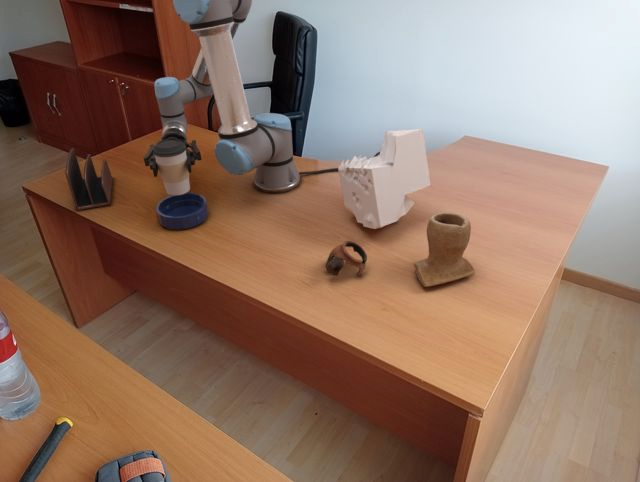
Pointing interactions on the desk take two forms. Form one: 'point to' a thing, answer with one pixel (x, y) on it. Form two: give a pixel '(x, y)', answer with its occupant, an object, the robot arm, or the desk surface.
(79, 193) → the letter holder
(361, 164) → the jagged white plaster chunk
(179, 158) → the coffee cup
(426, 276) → the stone cup
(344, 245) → the brown curved piece
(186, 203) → the bowl
